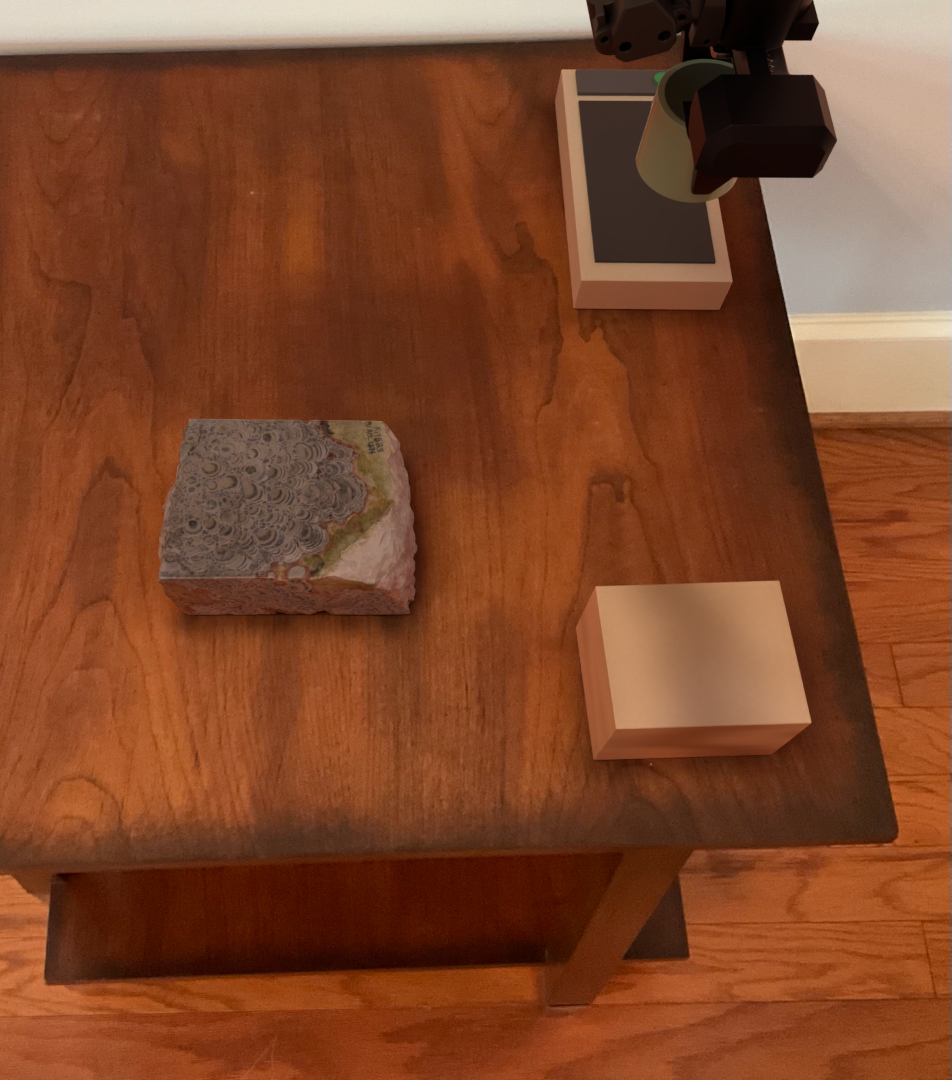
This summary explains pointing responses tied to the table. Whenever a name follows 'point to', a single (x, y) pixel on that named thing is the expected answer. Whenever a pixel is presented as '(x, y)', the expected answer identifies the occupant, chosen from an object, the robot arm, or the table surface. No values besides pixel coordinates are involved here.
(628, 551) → the table surface
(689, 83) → the cup
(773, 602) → the riser
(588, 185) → the copier
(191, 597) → the geological specimen
